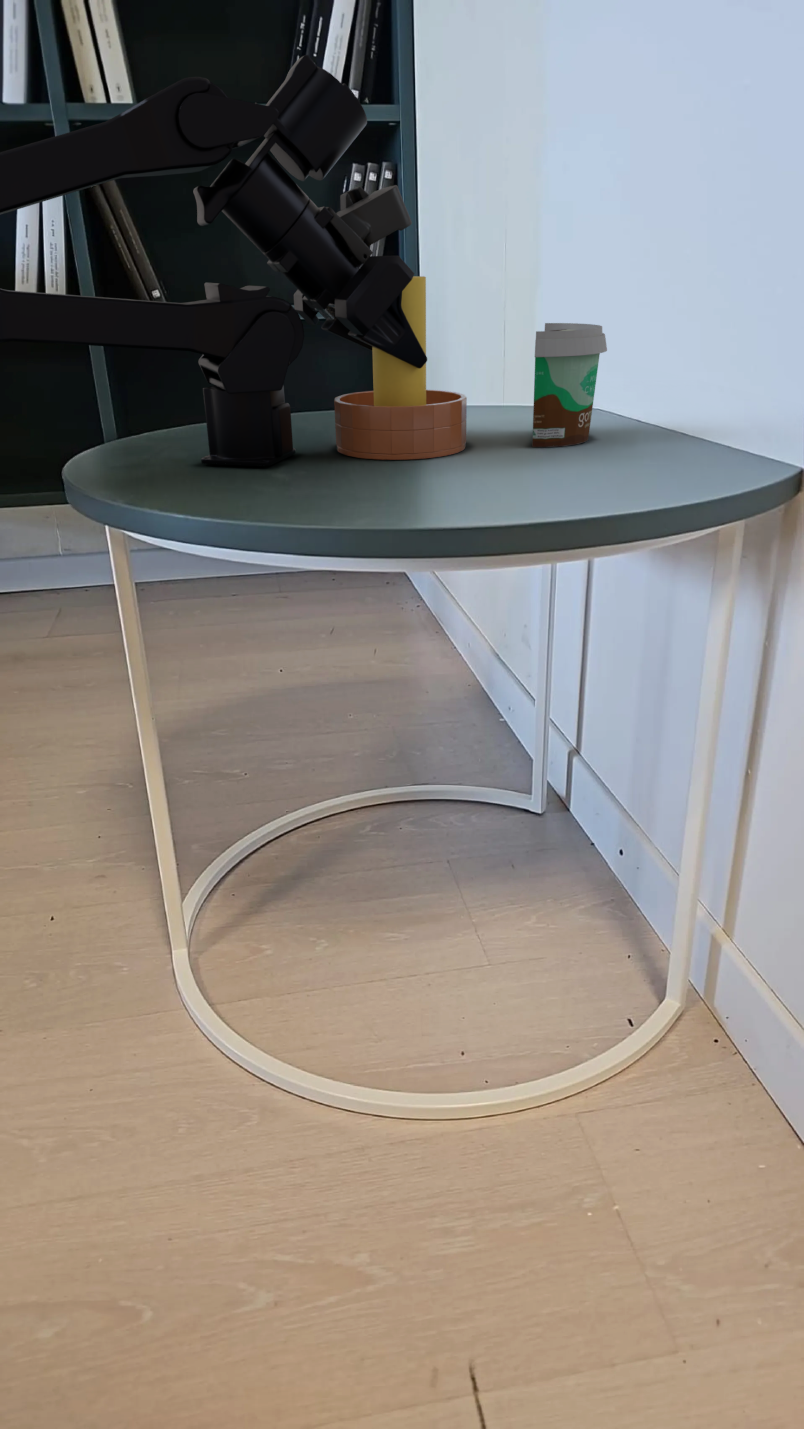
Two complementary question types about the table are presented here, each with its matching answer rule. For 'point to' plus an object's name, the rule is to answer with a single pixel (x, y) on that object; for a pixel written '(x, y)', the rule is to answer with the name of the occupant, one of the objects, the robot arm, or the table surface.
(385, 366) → the tall yellow cylinder
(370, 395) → the bowl
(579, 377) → the paper coffee cup
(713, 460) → the table surface
